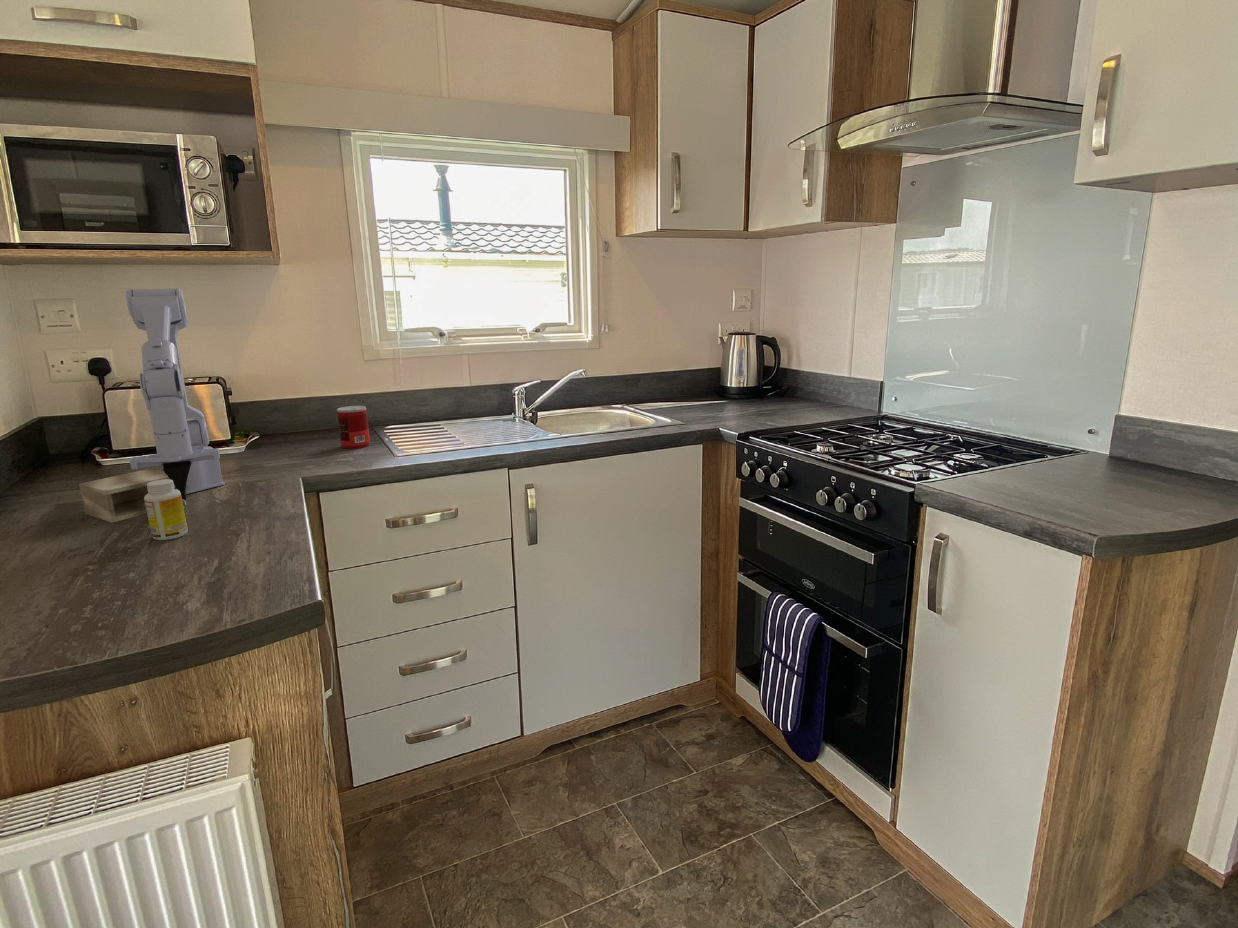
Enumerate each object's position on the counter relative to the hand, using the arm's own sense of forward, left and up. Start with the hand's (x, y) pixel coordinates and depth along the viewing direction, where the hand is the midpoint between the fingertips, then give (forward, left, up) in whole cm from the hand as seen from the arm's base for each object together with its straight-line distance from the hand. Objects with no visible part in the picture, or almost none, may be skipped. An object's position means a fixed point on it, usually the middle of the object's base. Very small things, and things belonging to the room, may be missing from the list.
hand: (183, 499), depth 135 cm
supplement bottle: (+8, +9, -4) cm, 12 cm away
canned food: (-58, -23, -4) cm, 63 cm away
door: (-1, -3, -3) cm, 4 cm away
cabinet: (+3, -15, -4) cm, 16 cm away
